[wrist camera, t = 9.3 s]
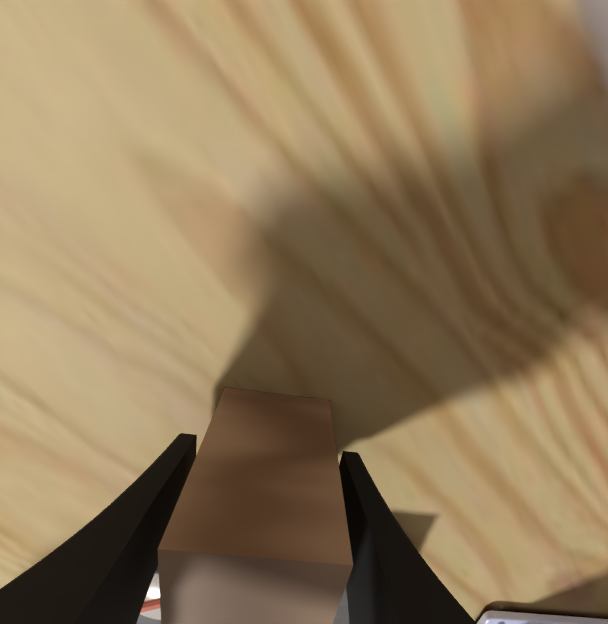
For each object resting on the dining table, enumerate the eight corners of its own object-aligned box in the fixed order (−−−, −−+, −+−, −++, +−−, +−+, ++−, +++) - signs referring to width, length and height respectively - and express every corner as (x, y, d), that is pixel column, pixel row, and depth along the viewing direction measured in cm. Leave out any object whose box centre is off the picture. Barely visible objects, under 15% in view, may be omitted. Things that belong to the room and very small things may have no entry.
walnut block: (329, 399, 12) (353, 565, 7) (312, 474, 14) (320, 659, 8) (225, 386, 12) (157, 549, 6) (220, 464, 13) (162, 649, 8)
